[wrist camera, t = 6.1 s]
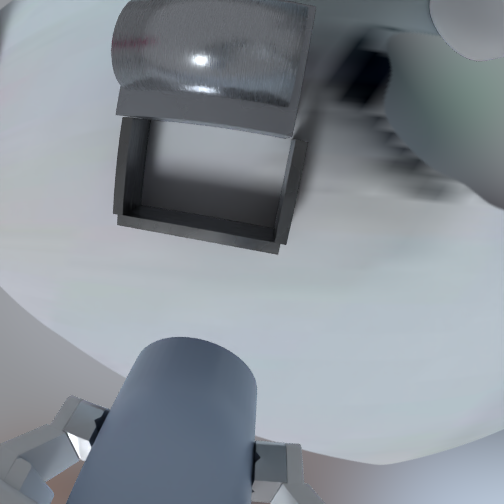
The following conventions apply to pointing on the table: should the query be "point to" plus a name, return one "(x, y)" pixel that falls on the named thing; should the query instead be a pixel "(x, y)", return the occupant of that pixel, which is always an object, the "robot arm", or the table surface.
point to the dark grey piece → (209, 97)
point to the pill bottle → (471, 27)
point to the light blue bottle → (176, 431)
